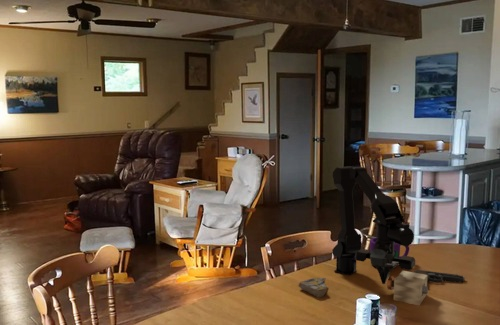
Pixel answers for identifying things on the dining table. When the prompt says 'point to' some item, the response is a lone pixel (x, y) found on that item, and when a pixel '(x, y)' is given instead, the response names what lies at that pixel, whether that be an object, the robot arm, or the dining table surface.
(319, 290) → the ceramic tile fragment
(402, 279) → the block
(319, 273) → the dining table surface
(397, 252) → the mug
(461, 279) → the handgun
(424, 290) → the pin
